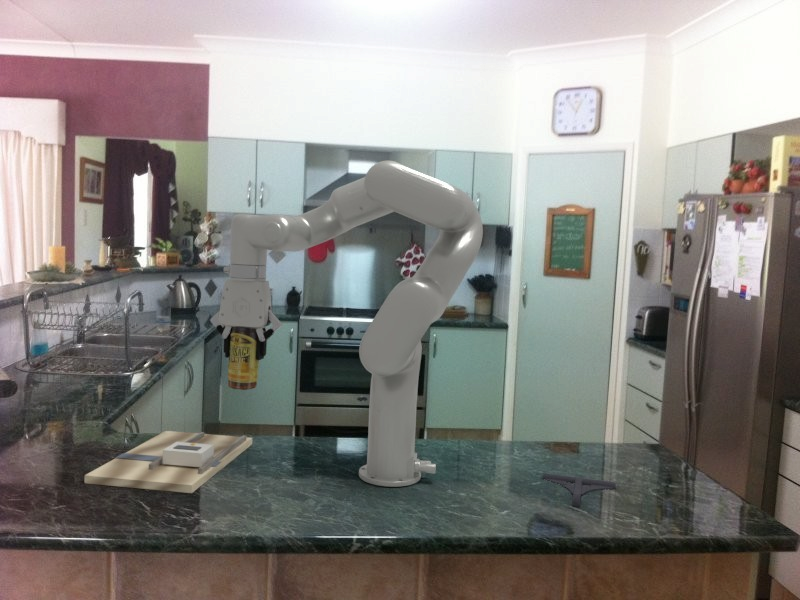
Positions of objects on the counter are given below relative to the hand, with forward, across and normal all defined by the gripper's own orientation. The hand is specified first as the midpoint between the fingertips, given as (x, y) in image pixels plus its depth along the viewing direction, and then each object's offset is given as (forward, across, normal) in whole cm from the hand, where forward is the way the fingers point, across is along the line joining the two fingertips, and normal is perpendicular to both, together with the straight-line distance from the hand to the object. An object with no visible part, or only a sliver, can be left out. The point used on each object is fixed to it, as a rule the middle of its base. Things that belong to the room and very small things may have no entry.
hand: (244, 357), depth 143 cm
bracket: (+22, +70, -3) cm, 74 cm away
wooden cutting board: (+22, -11, -6) cm, 25 cm away
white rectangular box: (+20, -7, -11) cm, 24 cm away
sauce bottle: (+7, 0, 0) cm, 7 cm away
